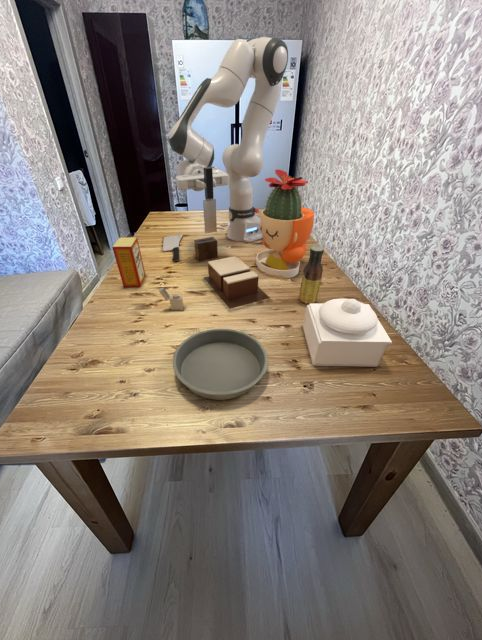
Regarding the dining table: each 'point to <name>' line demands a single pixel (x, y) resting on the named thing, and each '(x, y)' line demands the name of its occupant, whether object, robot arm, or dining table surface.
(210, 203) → the cake knife
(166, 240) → the kitchen cleaver
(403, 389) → the dining table surface
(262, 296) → the cake board
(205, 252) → the knife block
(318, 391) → the dining table surface
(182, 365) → the cake pan
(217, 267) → the cake
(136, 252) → the baking soda box
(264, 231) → the potted cactus
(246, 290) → the cake slice
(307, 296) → the sauce bottle
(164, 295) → the lighter
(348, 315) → the white lidded canister
